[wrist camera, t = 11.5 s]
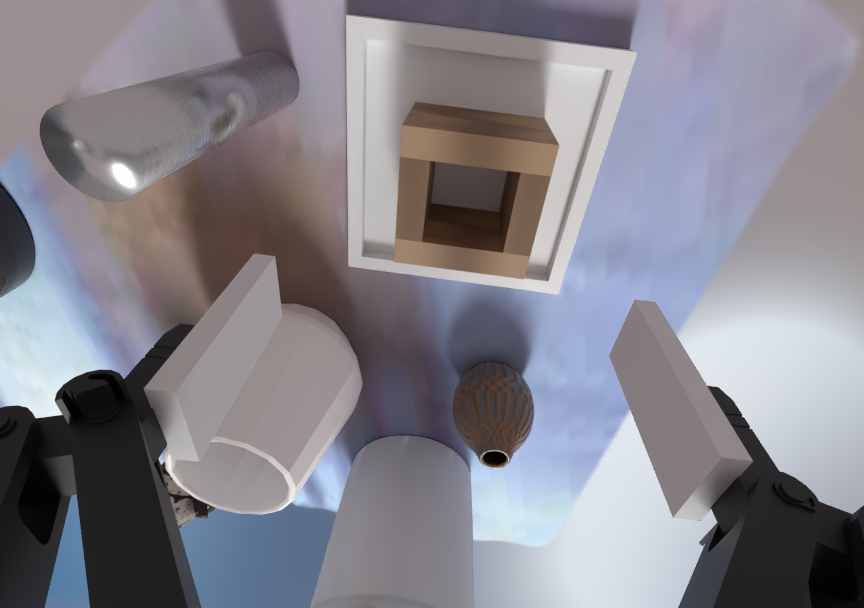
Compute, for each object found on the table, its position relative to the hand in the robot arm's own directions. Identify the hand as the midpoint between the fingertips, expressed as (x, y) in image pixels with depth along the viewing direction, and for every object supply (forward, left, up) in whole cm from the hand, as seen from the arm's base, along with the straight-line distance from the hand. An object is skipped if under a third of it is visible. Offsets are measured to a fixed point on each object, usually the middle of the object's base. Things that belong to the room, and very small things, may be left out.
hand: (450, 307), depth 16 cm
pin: (-13, +4, -16) cm, 21 cm away
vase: (+5, -19, -17) cm, 26 cm away
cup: (-13, -18, -17) cm, 28 cm away
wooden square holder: (0, 0, -16) cm, 16 cm away
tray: (0, 0, -16) cm, 16 cm away
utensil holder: (-1, -35, -17) cm, 39 cm away
